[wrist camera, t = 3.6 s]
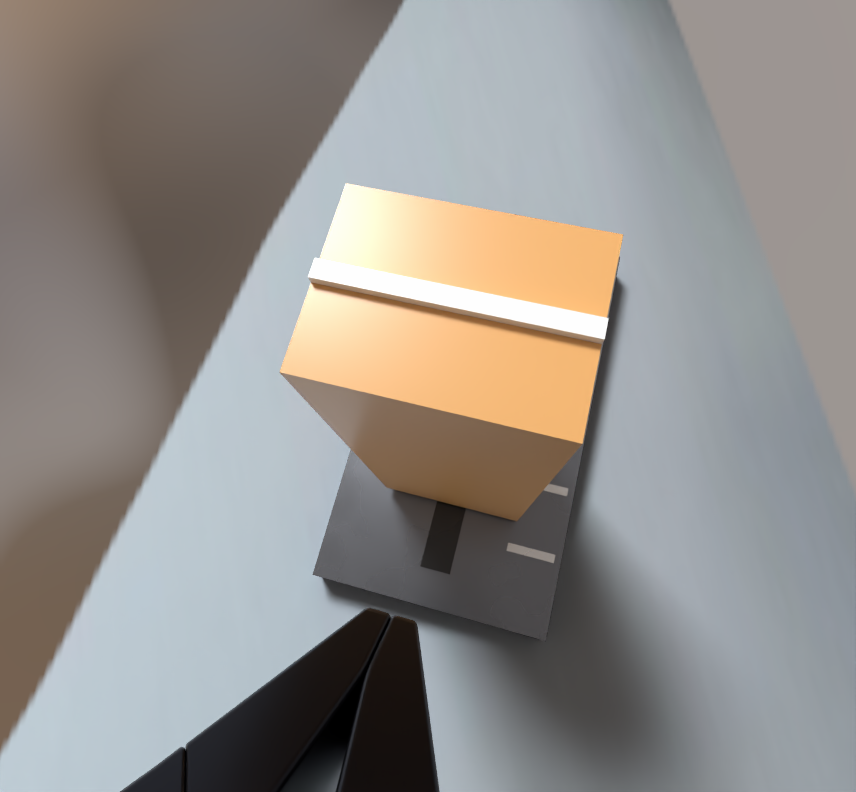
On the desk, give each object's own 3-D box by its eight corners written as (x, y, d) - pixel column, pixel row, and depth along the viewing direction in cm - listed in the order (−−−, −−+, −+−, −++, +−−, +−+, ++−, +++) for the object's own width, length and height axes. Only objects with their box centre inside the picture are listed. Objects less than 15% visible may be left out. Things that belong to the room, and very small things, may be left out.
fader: (517, 521, 17) (584, 440, 7) (386, 487, 18) (275, 368, 8) (537, 424, 18) (626, 227, 8) (412, 395, 19) (343, 176, 8)
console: (541, 637, 17) (546, 641, 16) (320, 574, 18) (312, 574, 17) (613, 271, 21) (620, 256, 20) (423, 234, 22) (420, 218, 21)
